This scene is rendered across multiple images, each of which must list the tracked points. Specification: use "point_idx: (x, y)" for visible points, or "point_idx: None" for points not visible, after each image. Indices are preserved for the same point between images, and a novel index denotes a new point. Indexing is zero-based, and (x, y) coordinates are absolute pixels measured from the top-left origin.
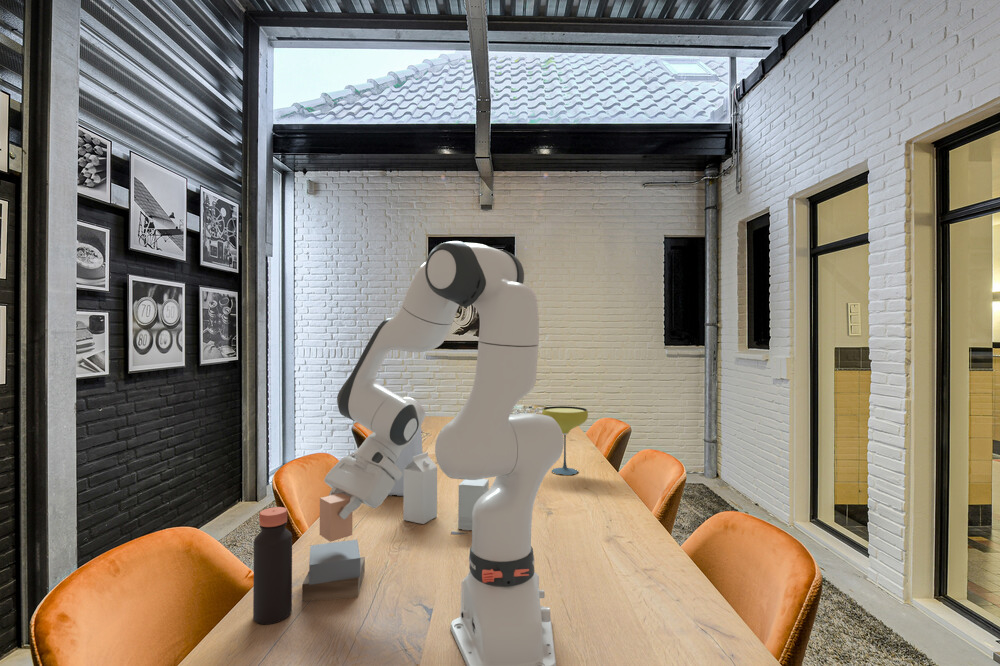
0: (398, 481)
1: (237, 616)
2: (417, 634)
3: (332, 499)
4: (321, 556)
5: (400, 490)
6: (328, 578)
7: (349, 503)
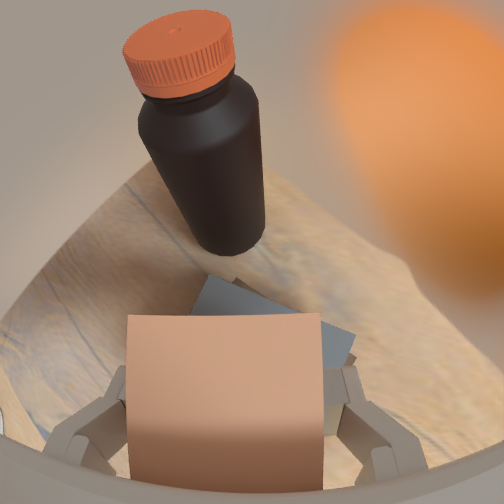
0: None
1: (273, 178)
2: (15, 371)
3: (202, 373)
4: None
5: None
6: None
7: (77, 420)
